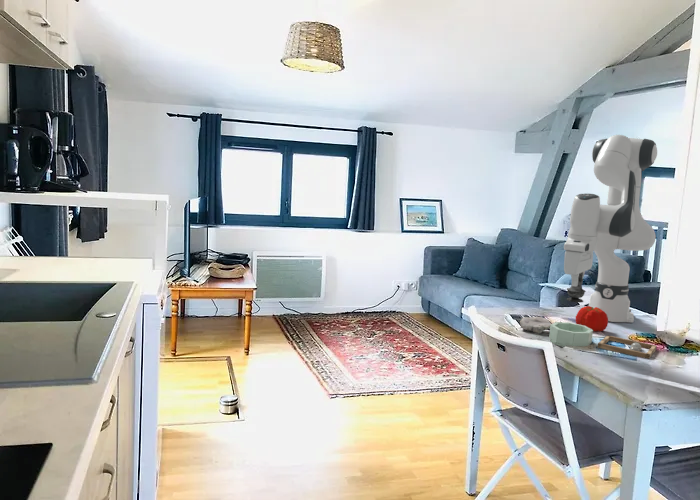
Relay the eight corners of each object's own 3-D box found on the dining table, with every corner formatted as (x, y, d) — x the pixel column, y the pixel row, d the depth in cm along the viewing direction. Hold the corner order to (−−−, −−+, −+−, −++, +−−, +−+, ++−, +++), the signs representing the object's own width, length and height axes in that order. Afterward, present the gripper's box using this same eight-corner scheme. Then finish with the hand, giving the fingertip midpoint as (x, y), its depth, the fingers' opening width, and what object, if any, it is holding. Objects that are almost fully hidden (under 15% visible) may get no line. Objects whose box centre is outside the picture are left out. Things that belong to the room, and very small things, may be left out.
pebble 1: (643, 345, 183) (632, 344, 185) (641, 341, 181) (630, 340, 183) (641, 354, 182) (630, 353, 184) (639, 351, 179) (629, 349, 181)
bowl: (556, 335, 197) (558, 320, 196) (593, 343, 189) (595, 327, 189) (545, 343, 187) (546, 327, 186) (583, 352, 180) (585, 335, 179)
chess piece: (561, 298, 188) (565, 263, 186) (575, 298, 190) (579, 263, 188) (574, 303, 182) (578, 266, 180) (588, 302, 184) (592, 266, 182)
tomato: (575, 325, 212) (578, 303, 211) (607, 330, 207) (610, 307, 206) (572, 331, 203) (575, 308, 202) (605, 337, 198) (608, 313, 197)
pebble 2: (639, 354, 179) (628, 350, 180) (642, 347, 177) (631, 343, 178) (637, 360, 177) (626, 356, 178) (640, 353, 175) (629, 349, 176)
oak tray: (606, 342, 192) (607, 335, 192) (655, 352, 183) (656, 345, 183) (596, 350, 182) (597, 343, 181) (648, 362, 173) (649, 354, 172)
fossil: (553, 327, 196) (527, 314, 197) (544, 343, 198) (518, 329, 199) (550, 319, 204) (525, 306, 205) (541, 334, 206) (516, 321, 207)
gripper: (580, 240, 193) (575, 279, 195) (562, 244, 177) (557, 287, 179) (599, 242, 190) (594, 282, 192) (583, 247, 173) (578, 291, 175)
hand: (576, 285), depth 185 cm, fingers closed on chess piece, 3 cm apart
